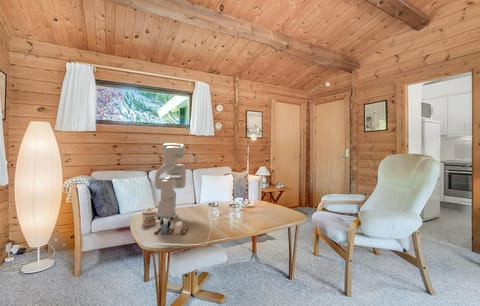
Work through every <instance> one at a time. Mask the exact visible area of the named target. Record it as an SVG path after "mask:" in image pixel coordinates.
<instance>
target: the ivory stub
mask: <svg viewBox="0 0 480 306" xmlns="http://www.w3.org/2000/svg"><path fill="white" fill-rule="evenodd" d="M173 226H174V233H178V234H180V232H181V231H182V229H183V228H184V227H183V226H184V222H183V220H182V221H179V220H178V221H177V222H176V223H175V224H174V225H173Z"/></svg>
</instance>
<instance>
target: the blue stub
mask: <svg viewBox="0 0 480 306" xmlns="http://www.w3.org/2000/svg"><path fill="white" fill-rule="evenodd" d="M163 221H164V223H163V224H162V225H161V233H167V232H168V230H169V229H170V228H171V226H170V227H169V228H168V221H169V220H166V221H165V220H163Z"/></svg>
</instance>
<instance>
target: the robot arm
mask: <svg viewBox="0 0 480 306" xmlns="http://www.w3.org/2000/svg"><path fill="white" fill-rule="evenodd" d="M161 147H162V152H163V163H162V165H161V166H160V167H159V168H158V169H157V170H156V172H155V177H154V182H153V183H154V187H155V189H156V190H160V196H159V197H160V200H159V202H158V207H157V211H156V213H157V214H156V215H155V217H156V219H157V218H158V220H159V222H160V224H159V226H161V225H162V224H163V223H164V221H165V220H164V218H168V220H167V221H168V228H169V227H170V228H171V226H172V220H174V219H176V218H177V216H178V213H177V207H176V206H177V192H176V191H175V190H174V189H180V190H181V189H184V188H185V187H186V178H187V177H186V176H187V175H186V174H187V168H186V165H185V164H183V163H178V159H184V157H185V154H186V147H185V144H183V143H172V142H171V143H169V142H168V143H164V144H162V146H161ZM164 173H165V174H166V175H167V177H162V178H161V176H162V175H163V174H164Z"/></svg>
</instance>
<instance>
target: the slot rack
mask: <svg viewBox="0 0 480 306" xmlns="http://www.w3.org/2000/svg"><path fill="white" fill-rule="evenodd" d="M188 230H189V225H185V227H183V229H182V231H181V232H180V234H178V233H174V225H173V226H172V227H170V229H169V230H168V232H167V233H161V226H160V225H159V226H158V227H157V228H156V230H155V231H154V233H153V235H160V236H161V235H162V236H165V235H166V236H167V235H168V236H169V235H171V236H185V235H186V233H187V232H188Z"/></svg>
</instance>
